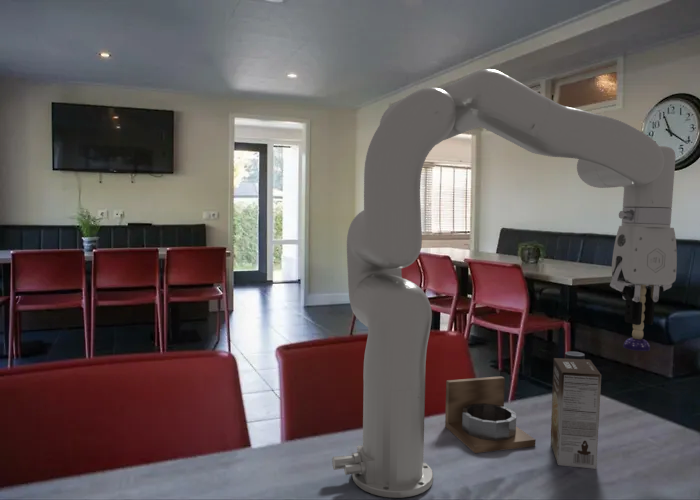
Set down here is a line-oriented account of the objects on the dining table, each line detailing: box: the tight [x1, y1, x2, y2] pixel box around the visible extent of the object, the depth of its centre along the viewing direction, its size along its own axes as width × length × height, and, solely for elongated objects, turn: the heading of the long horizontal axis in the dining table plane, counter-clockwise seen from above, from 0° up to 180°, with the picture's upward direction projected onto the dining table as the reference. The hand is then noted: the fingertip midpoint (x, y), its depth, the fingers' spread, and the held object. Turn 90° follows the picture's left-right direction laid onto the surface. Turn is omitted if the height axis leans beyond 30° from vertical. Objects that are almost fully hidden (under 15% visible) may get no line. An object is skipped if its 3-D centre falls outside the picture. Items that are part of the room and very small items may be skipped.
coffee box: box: [550, 357, 602, 470], centre depth 94 cm, size 9×6×16 cm
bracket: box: [444, 376, 536, 454], centre depth 102 cm, size 12×12×9 cm
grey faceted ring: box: [462, 403, 517, 441], centre depth 102 cm, size 10×10×3 cm
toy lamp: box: [623, 285, 651, 352], centre depth 96 cm, size 5×5×17 cm
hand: (638, 322), depth 96 cm, fingers closed on toy lamp
